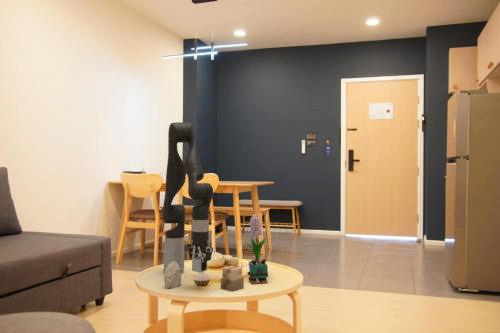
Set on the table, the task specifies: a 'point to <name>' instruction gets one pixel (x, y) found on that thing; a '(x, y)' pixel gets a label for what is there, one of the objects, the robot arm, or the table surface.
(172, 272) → the stone
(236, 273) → the beech block
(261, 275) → the green toy vehicle
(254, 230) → the hyacinth
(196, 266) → the slate block
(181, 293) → the table surface
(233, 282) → the walnut base
